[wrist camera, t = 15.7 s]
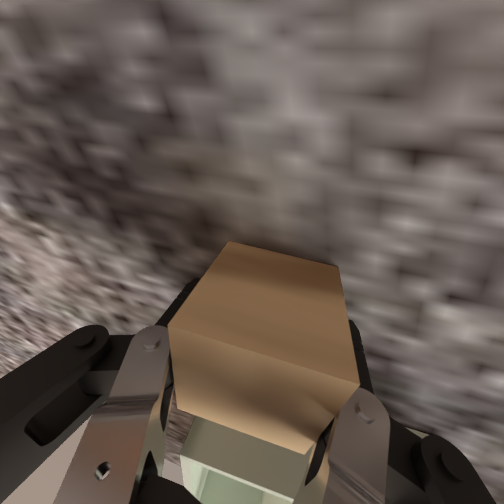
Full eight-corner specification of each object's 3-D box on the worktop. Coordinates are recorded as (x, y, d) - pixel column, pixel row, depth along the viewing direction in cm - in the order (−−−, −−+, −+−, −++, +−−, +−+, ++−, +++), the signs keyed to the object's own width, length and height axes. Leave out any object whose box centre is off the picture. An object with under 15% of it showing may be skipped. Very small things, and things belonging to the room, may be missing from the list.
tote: (215, 365, 15) (179, 454, 11) (443, 439, 13) (503, 581, 9) (208, 453, 26) (188, 517, 21) (337, 503, 24) (343, 584, 19)
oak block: (228, 240, 10) (167, 325, 6) (338, 267, 9) (360, 384, 5) (222, 314, 13) (177, 408, 8) (307, 339, 12) (304, 455, 8)
